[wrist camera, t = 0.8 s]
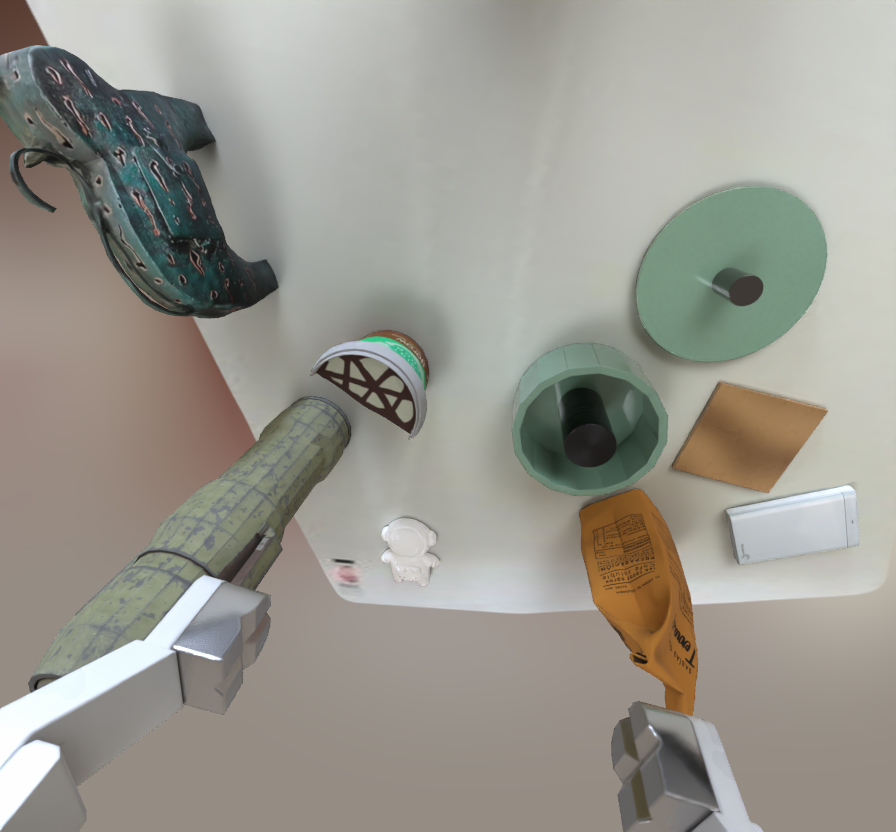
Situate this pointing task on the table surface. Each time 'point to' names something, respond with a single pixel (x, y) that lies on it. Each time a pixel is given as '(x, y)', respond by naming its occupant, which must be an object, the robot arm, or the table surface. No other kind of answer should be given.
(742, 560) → the hard drive
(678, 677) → the coffee package
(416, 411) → the food container
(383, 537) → the white flat figurine
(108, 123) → the teal patterned animal figure
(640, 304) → the lid
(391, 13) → the table surface
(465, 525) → the table surface
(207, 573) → the grey-green stone column
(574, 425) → the tin
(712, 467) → the trivet
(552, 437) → the pot
